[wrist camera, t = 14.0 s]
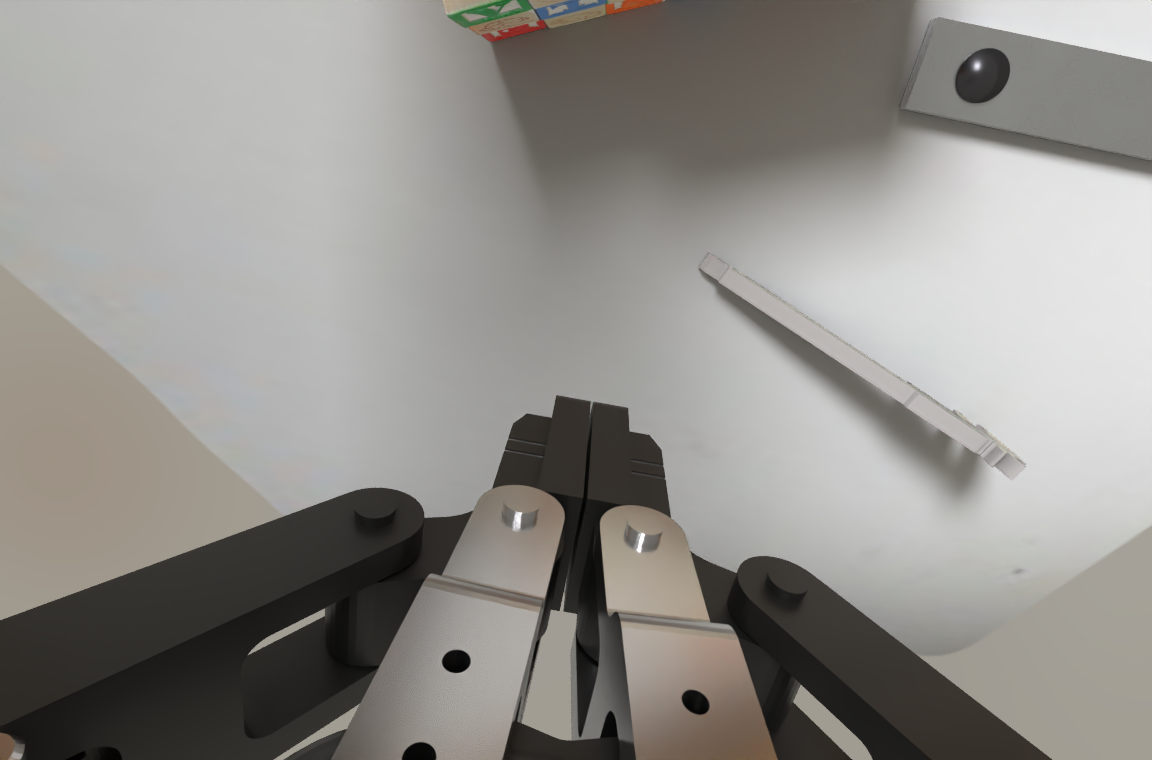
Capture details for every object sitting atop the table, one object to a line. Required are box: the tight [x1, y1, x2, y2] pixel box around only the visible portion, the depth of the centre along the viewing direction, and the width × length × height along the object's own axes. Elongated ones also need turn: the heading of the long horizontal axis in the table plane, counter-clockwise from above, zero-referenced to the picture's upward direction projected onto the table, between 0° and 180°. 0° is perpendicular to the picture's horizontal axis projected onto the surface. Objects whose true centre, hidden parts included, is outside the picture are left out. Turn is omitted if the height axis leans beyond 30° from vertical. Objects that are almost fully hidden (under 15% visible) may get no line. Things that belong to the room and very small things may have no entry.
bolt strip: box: [899, 17, 1152, 161], centre depth 30 cm, size 4×18×1 cm, turn 79°
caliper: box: [699, 253, 1026, 480], centre depth 34 cm, size 20×1×6 cm, turn 59°
